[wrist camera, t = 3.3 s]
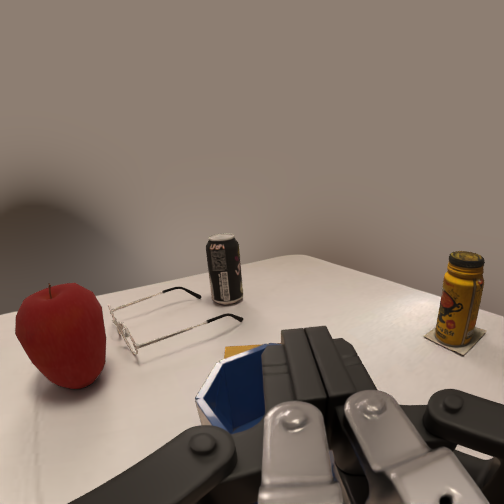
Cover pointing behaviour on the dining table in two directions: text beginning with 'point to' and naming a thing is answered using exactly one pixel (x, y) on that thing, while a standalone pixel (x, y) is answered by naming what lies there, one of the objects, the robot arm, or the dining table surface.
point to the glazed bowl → (235, 393)
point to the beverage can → (224, 268)
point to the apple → (63, 334)
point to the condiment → (460, 303)
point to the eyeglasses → (127, 334)
